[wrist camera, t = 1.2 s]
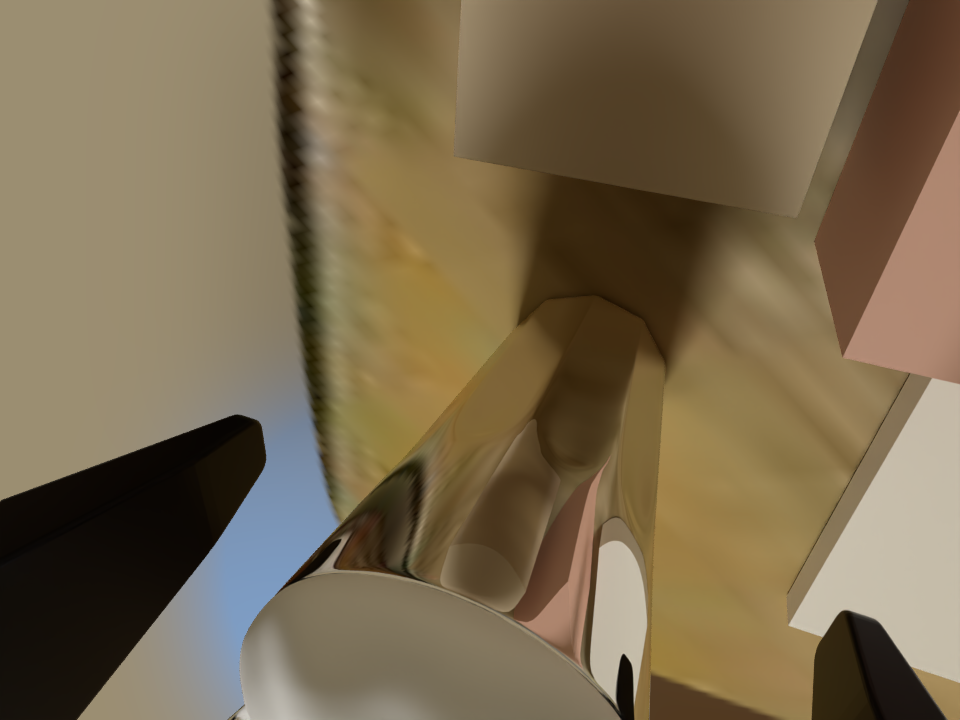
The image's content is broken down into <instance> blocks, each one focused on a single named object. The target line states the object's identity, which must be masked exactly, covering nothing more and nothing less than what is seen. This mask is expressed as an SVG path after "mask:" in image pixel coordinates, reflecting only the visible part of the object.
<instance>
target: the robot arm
mask: <svg viewBox="0 0 960 720" xmlns="http://www.w3.org/2000/svg"><path fill="white" fill-rule="evenodd" d="M265 463H266V451H265V444H264V438H263V431H262V426H261V424H260V423H259V421H257V420H255V419H252V418H249V417H246V416H243V415H232V416H229V417H227V418H224V419H221V420H218V421H216V422H213V423H211V424H208V425H205V426H202V427H199V428H197V429H194V430H191V431H189V432H186V433H183V434H181V435H178V436H175V437H173V438H170V439H167V440H164V441H161V442H159V443H156V444H153V445H151V446H148V447H145V448H142V449H140V450H137V451H134V452H131V453H129V454H126V455H123V456H120V457H118V458H115V459H112V460H110V461H107V462H104V463H101V464H99V465H96V466H93V467H90V468H88V469H85V470H82V471H80V472H77V473H75V474H71V475H69V476H66V477H63V478H61V479H58V480H55V481H52V482H50V483H47V484H44V485H41V486H39V487H36V488H33V489H30V490H28V491H25V492H22V493H19V494H17V495H14V496H11V497H9V498H6V499H3V500H1V501H0V720H77V719H78V718H79V716H80V715H81V714H82V713H83V711H84V710H85V709H86V708H87V706H88V705H89V704H90V702H91V701H92V700H93V699H94V697H95V696H96V695H97V694H98V692H99V691H100V690H101V689H102V687H103V686H104V685H105V684H106V682H107V681H108V680H109V678H110V677H111V676H112V675H113V673H114V672H115V671H116V670H117V668H118V667H119V665H121V663H122V662H123V661H124V660H125V658H126V657H127V656H128V654H129V653H130V652H131V651H132V649H133V648H134V647H135V645H136V644H137V643H138V642H139V641H140V639H141V638H142V637H143V635H144V634H145V633H146V632H147V630H148V629H149V628H150V627H151V625H152V624H153V623H154V622H155V620H156V619H157V618H158V616H159V615H160V614H161V613H162V611H163V610H164V609H165V608H166V606H167V605H168V604H169V602H170V601H171V600H172V599H173V597H174V596H175V595H176V594H177V592H178V591H179V590H180V589H181V587H182V586H183V585H184V584H185V582H186V581H187V580H188V578H189V577H190V576H191V575H192V574H193V572H194V571H195V570H196V568H197V567H198V566H199V565H200V563H201V562H202V561H203V560H204V558H205V557H206V556H207V554H208V553H209V551H210V550H211V549H212V547H213V546H214V545H215V544H216V542H217V541H218V539H219V538H220V536H221V535H222V533H223V532H224V530H225V529H226V527H227V526H228V524H229V523H230V521H231V519H232V518H233V516H234V515H235V513H236V512H237V510H238V508H239V507H240V505H241V504H242V502H243V501H244V499H245V498H246V496H247V494H248V493H249V491H250V489H251V488H252V487H253V485H254V483H255V482H256V480H257V479H258V477H259V475H260V474H261V473H262V471H263V468H264V466H265ZM812 720H947V718H946V717H945V716H944V714H943V713H942V711H941V710H940V708H939V707H938V705H937V704H936V703H935V701H934V700H933V698H932V697H931V695H930V694H929V692H928V691H927V689H926V688H925V687H924V685H923V684H922V682H921V681H920V679H919V678H918V676H917V675H916V674H915V672H914V671H913V669H912V668H911V666H910V665H909V663H908V662H907V661H906V659H905V658H904V656H903V655H902V653H901V652H900V650H899V649H898V648H897V646H896V645H895V643H894V642H893V640H892V639H891V637H890V636H889V634H888V633H887V632H886V630H885V629H884V627H883V626H882V625H881V624H880V623H879V622H878V621H877V620H876V619H874V618H871V617H868V616H865V615H862V614H859V613H856V612H853V611H850V610H843V611H841V612H840V613H839V614H838V615H837V616H836V618H835V619H834V621H833V622H832V624H831V625H830V627H829V629H828V630H827V632H826V633H825V635H824V636H823V638H822V639H821V641H820V643H819V644H818V647H817V650H816V653H815V659H814V679H813V701H812Z"/></svg>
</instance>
